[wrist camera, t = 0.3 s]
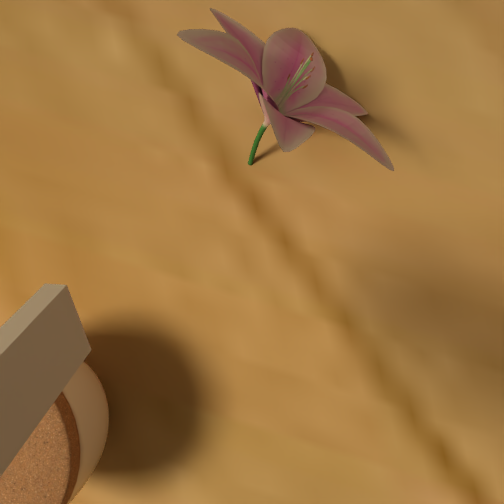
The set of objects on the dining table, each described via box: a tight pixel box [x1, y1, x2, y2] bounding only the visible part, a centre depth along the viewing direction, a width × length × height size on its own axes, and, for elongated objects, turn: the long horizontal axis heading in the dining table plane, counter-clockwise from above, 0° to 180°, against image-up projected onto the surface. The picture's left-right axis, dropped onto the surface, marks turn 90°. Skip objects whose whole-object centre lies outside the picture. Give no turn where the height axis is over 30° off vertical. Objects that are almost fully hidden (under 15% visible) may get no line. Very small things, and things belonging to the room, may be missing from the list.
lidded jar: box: [0, 361, 109, 504], centre depth 25 cm, size 11×11×9 cm
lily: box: [177, 8, 394, 171], centre depth 24 cm, size 12×12×10 cm
